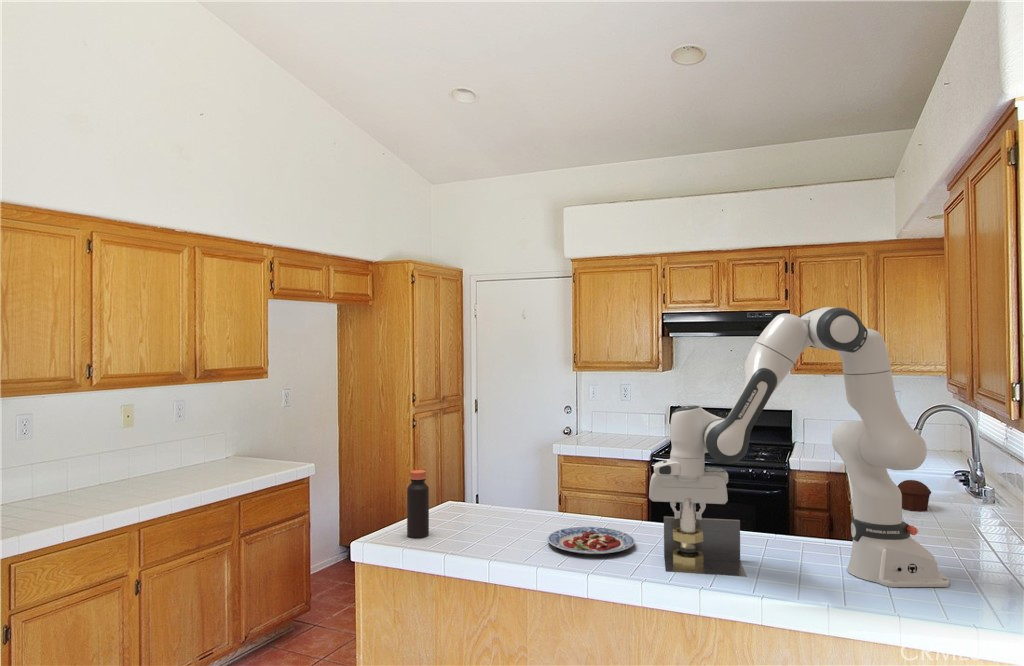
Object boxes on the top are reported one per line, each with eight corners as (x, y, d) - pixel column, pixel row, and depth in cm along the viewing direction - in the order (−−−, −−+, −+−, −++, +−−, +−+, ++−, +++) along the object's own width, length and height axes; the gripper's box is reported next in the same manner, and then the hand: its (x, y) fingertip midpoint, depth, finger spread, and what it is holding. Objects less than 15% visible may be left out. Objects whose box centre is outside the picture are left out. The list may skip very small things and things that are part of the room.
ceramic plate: (584, 529, 214) (584, 519, 214) (652, 546, 196) (652, 536, 196) (529, 546, 196) (529, 536, 196) (598, 567, 178) (598, 555, 178)
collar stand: (739, 564, 179) (739, 519, 179) (747, 581, 166) (746, 533, 166) (664, 559, 183) (663, 516, 183) (665, 576, 170) (665, 529, 170)
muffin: (891, 503, 245) (890, 476, 245) (924, 505, 242) (924, 478, 243) (901, 511, 234) (900, 483, 234) (936, 513, 231) (936, 485, 231)
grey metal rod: (695, 558, 177) (695, 495, 177) (697, 564, 173) (696, 499, 173) (679, 558, 178) (679, 494, 178) (680, 563, 173) (680, 498, 174)
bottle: (422, 539, 202) (422, 474, 203) (403, 537, 205) (403, 472, 205) (432, 533, 209) (432, 470, 209) (413, 531, 211) (413, 468, 211)
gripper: (726, 465, 177) (727, 517, 176) (648, 463, 181) (649, 514, 180) (729, 470, 170) (730, 524, 170) (648, 467, 174) (649, 520, 174)
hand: (687, 519), depth 175 cm, fingers closed on grey metal rod, 4 cm apart
